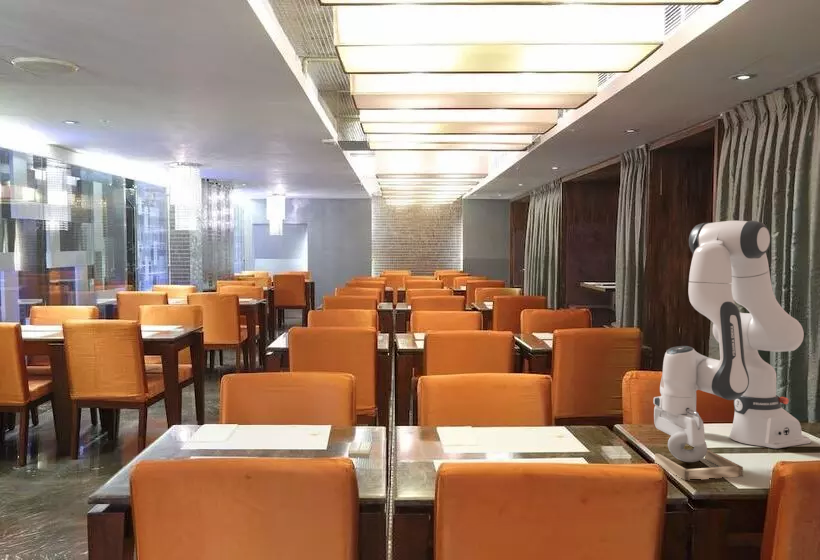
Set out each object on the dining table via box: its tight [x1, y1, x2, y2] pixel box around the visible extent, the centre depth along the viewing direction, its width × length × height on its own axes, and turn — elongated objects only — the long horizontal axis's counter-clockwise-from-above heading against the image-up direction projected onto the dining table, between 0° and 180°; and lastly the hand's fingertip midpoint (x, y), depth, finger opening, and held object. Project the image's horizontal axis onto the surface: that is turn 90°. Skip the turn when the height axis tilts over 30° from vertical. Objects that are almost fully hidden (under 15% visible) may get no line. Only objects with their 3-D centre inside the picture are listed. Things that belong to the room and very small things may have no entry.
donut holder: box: [654, 449, 744, 481], centre depth 175 cm, size 16×14×2 cm
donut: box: [667, 431, 708, 463], centre depth 178 cm, size 10×4×10 cm, turn 63°
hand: (678, 453), depth 183 cm, fingers closed
